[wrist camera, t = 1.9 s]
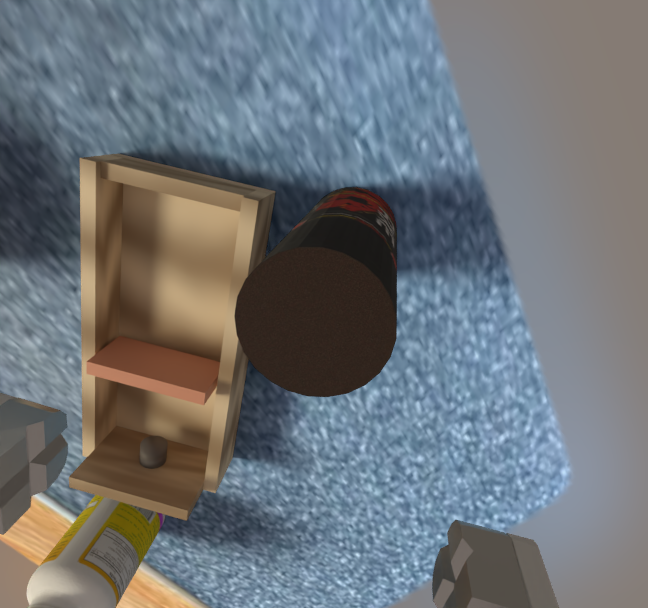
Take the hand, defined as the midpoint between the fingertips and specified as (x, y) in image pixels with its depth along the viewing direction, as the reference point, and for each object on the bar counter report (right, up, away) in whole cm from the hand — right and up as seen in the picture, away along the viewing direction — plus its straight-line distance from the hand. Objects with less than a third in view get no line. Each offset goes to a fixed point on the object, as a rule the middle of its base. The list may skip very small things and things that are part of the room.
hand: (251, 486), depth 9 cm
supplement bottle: (-16, -15, +34) cm, 40 cm away
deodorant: (+3, +8, +21) cm, 23 cm away
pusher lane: (-9, +2, +25) cm, 27 cm away
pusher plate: (-10, 0, +25) cm, 27 cm away
